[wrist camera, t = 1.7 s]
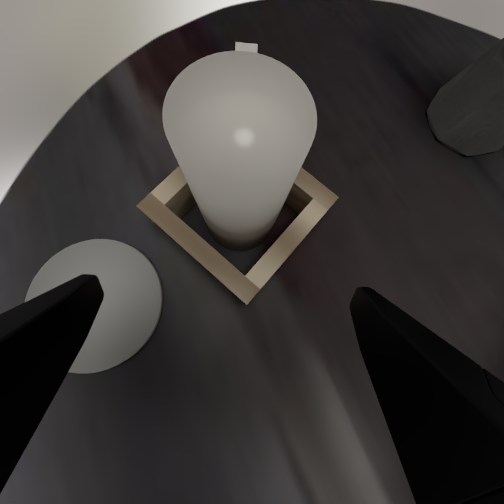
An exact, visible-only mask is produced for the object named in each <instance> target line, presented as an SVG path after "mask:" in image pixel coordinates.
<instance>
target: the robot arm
mask: <svg viewBox="0 0 504 504" xmlns="http://www.w3.org/2000/svg"><path fill="white" fill-rule="evenodd" d="M103 299H104V291H103V289H102V286H101V284H100V281H99V279H98V277H97V276H96V275H93V274H82V275H79V276H77V277H75V278H73V279H71V280H69V281H67V282H65V283H63V284H61V285H59V286H57V287H55V288H53V289H51V290H49V291H47V292H45V293H43V294H41V295H39V296H37V297H35V298H33V299H31V300H29V301H27V302H25V303H23V304H21V305H19V306H16V307H14V308H12V309H10V310H8V311H6V312H4V313H2V314H0V493H1V492H2V490H3V488H4V486H5V484H6V483H7V481H8V479H9V477H10V475H11V474H12V472H13V470H14V468H15V466H16V465H17V463H18V461H19V459H20V457H21V456H22V454H23V452H24V450H25V448H26V447H27V445H28V443H29V441H30V439H31V438H32V436H33V434H34V432H35V431H36V429H37V427H38V425H39V423H40V422H41V420H42V418H43V416H44V414H45V413H46V411H47V409H48V407H49V405H50V404H51V402H52V400H53V398H54V396H55V395H56V393H57V391H58V389H59V387H60V386H61V384H62V382H63V380H64V378H65V377H66V375H67V373H68V371H69V370H70V368H71V366H72V364H73V362H74V361H75V359H76V357H77V355H78V353H79V352H80V350H81V348H82V346H83V344H84V342H85V340H86V338H87V336H88V334H89V332H90V329H91V327H92V325H93V322H94V320H95V318H96V315H97V313H98V311H99V308H100V306H101V304H102V301H103ZM350 312H351V316H352V320H353V324H354V328H355V332H356V336H357V340H358V344H359V347H360V351H361V354H362V357H363V359H364V362H365V365H366V368H367V370H368V373H369V376H370V379H371V381H372V384H373V387H374V390H375V392H376V395H377V398H378V401H379V403H380V406H381V409H382V412H383V414H384V417H385V420H386V423H387V425H388V428H389V431H390V434H391V436H392V439H393V442H394V445H395V447H396V450H397V453H398V456H399V458H400V461H401V464H402V467H403V469H404V472H405V475H406V478H407V480H408V483H409V486H410V489H411V491H412V494H413V497H414V500H415V502H416V504H504V382H502V381H501V380H499V379H498V378H497V377H495V376H494V375H493V374H491V373H490V372H488V371H487V370H486V369H482V367H481V366H480V365H478V364H477V363H476V362H474V361H473V360H471V359H470V358H469V357H467V356H466V355H464V354H463V353H462V352H460V351H459V350H457V349H456V348H455V347H453V346H452V345H450V344H449V343H448V342H446V341H445V340H443V339H442V338H440V337H439V336H438V335H436V334H435V333H433V332H432V331H431V330H429V329H428V328H426V327H425V326H424V325H422V324H421V323H419V322H418V321H417V320H415V319H414V318H412V317H411V316H410V315H408V314H407V313H405V312H404V311H403V310H401V309H400V308H398V307H397V306H396V305H394V304H393V303H391V302H390V301H389V300H387V299H386V298H384V297H383V296H382V295H380V294H379V293H377V292H376V291H375V290H373V289H372V288H370V287H358V288H357V289H356V291H355V293H354V295H353V297H352V300H351V302H350Z"/></svg>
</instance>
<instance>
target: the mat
mask: <svg viewBox="0 0 504 504" xmlns="http://www.w3.org/2000/svg"><path fill="white" fill-rule="evenodd" d="M82 274H93V275H96V276H97V277H98V279H99V281H100V284H101V286H102V289H103V291H104V299H103V301H102V304H101V306H100V308H99V311H98V313H97V315H96V318H95V320H94V322H93V325H92V327H91V329H90V332H89V334H88V336H87V338H86V340H85V342H84V344H83V346H82V348H81V350H80V352H79V353H78V355H77V357H76V359H75V361H74V362H73V364H72V366H71V368H70V370H69V371H68V372H71V373H79V374H84V373H95V372H100V371H104V370H107V369H110V368H112V367H114V366H117V365H118V364H120V363H122V362H124V361H125V360H127V359H129V358H130V357H132V356H133V355H134V354H136V353H137V352H138V351H139V350H140V349H141V348H142V347H143V346H144V345H145V344H146V343H147V342H148V340H149V339H150V338H151V336H152V334H153V333H154V331H155V329H156V327H157V325H158V323H159V320H160V317H161V314H162V309H163V299H164V297H163V287H162V282H161V279H160V276H159V274H158V272H157V270H156V268H155V267H154V265H153V264H152V262H151V261H150V260H149V259H148V258H147V257H146V256H145V255H144V254H143V253H141V252H140V251H138V250H137V249H135V248H133V247H131V246H129V245H127V244H124V243H122V242H118V241H115V240H108V239H94V240H87V241H83V242H79V243H76V244H73V245H71V246H69V247H67V248H65V249H63V250H62V251H60V252H58V253H57V254H56V255H54V256H53V257H52V258H51V259H49V260H48V261H47V262H46V263H45V264H44V265H43V266H42V268H41V269H40V270H39V272H38V273H37V274H36V276H35V278H34V279H33V281H32V283H31V285H30V287H29V289H28V292H27V295H26V299H25V302H27V301H29V300H31V299H33V298H35V297H37V296H39V295H41V294H43V293H45V292H47V291H49V290H51V289H53V288H55V287H57V286H59V285H61V284H63V283H65V282H67V281H69V280H71V279H73V278H75V277H77V276H79V275H82Z"/></svg>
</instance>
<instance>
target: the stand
mask: <svg viewBox="0 0 504 504" xmlns="http://www.w3.org/2000/svg"><path fill="white" fill-rule="evenodd" d="M338 198H339V197H338V196H336V195H335V194H334V193H333V192H331V191H330V190H329V189H328V188H326V187H325V186H324V185H323V184H321V183H320V182H319V181H318V180H316V179H315V178H314V177H313V176H312V175H310V174H309V173H308V172H307V171H305V170H304V169H303V168H302V167H301V168H300V171H299V173H298V175H297V177H296V179H295V181H294V183H293V185H292V187H291V190H290V192H289V194H288V196H287V198H286V200H285V203H286V204H287V205H288V206H290V207H291V208H292V209H293V210H294V211H296V212H297V213H298V214H299V215H298V217H297V218H296V219H295V220H294V221H293V222H292V223H291V224H290V226H289V227H288V228H287V229H286V230H285V231H284V232H283V234H282V235H281V236H280V237H279V238H278V239H277V240H276V242H275V243H274V244H273V245H272V246H271V247H270V248H269V249H268V251H267V252H266V253H265V254H264V255H263V256H262V257H261V259H260V260H259V261H258V262H257V263H256V264H255V265H254V266H253V268H252V269H251V270H250V271H249V272H248V273H247V274H246V276H244V275H243V274H242V273H241V272H240V271H239V270H238V269H236V268H235V267H234V266H233V265H232V264H231V263H230V262H229V261H227V260H226V259H225V258H224V257H223V256H222V255H221V254H219V253H218V252H217V251H216V250H215V249H214V248H213V247H212V246H210V245H209V244H208V243H207V242H206V241H205V240H204V239H202V238H201V237H200V236H199V235H198V234H197V233H196V232H195V231H193V230H192V229H191V228H190V227H189V226H188V225H187V224H185V223H184V222H183V221H182V220H181V218H182V217H183V216H184V215H185V214H186V213H187V212H188V211H189V210H190V209H191V208H192V207H193V206H194V205H195V204H196V201H195V198H194V196H193V194H192V192H191V190H190V188H189V185H188V183H187V181H186V179H185V177H184V174H183V172H182V170H181V168H180V166H179V167H178V168H176V169H175V170H174V171H173V172H172V173H171V174H170V175H169V176H168V177H167V178H166V179H165V180H164V181H163V182H161V183H160V184H159V185H158V186H157V187H156V188H155V189H154V190H153V191H152V192H151V193H150V194H149V195H148V196H146V197H145V198H144V199H143V200H142V201H141V202H140V203H139V204H138V205H137V207H138V208H139V209H140V210H141V211H142V212H144V213H145V214H146V215H147V216H148V217H149V218H150V219H151V220H153V221H154V222H155V223H156V224H157V225H158V226H159V227H160V228H161V229H163V230H164V231H165V232H166V233H167V234H168V235H169V236H170V237H171V238H173V239H174V240H175V241H176V242H177V243H178V244H179V245H180V246H182V247H183V248H184V249H185V250H186V251H187V252H188V253H189V254H190V255H192V256H193V257H194V258H195V259H196V260H197V261H198V262H199V263H200V264H202V265H203V266H204V267H205V268H206V269H207V270H208V271H209V272H210V273H212V274H213V275H214V276H215V277H216V278H217V279H218V280H219V281H221V282H222V283H223V284H224V285H225V286H226V287H227V288H228V289H229V290H231V291H232V292H233V293H234V294H235V295H236V296H237V297H238V298H239V299H241V300H242V301H243V302H244V303H245V304H246V305H247V304H248V303H249V302H250V301H251V300H252V298H253V297H254V296H255V295H256V294H257V293H258V291H259V290H260V289H261V288H262V287H263V286H264V284H265V283H266V282H267V281H268V280H269V279H270V277H271V276H272V275H273V274H274V273H275V272H276V270H277V269H278V268H279V267H280V266H281V264H282V263H283V262H284V261H285V260H286V259H287V257H288V256H289V255H290V254H291V253H292V252H293V250H294V249H295V248H296V247H297V246H298V245H299V243H300V242H301V241H302V240H303V239H304V238H305V236H306V235H307V234H308V233H309V232H310V231H311V229H312V228H313V227H314V226H315V225H316V223H317V222H318V221H319V220H320V219H321V218H322V216H323V215H324V214H325V213H326V212H327V211H328V209H329V208H330V207H331V206H332V205H333V204H334V202H335V201H336V200H337V199H338Z"/></svg>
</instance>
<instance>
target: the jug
mask: <svg viewBox="0 0 504 504" xmlns="http://www.w3.org/2000/svg"><path fill="white" fill-rule="evenodd" d="M257 46H258V44H251V43H240V42H236V45H235V51H226V52H220V53H215V54H212V55H209V56H206V57H204V58H201V59H199V60H197V61H196V62H194V63H192V64H191V65H189V66H188V67H187V68H185V69H184V70H183V71H182V72H181V73H180V74H179V75H178V76H177V77H176V79H175V80H174V81H173V83H172V84H171V86H170V88H169V90H168V92H167V94H166V97H165V100H164V105H163V115H162V117H163V126H164V130H165V134H166V137H167V139H168V141H169V144H170V146H171V148H172V150H173V152H174V155H175V157H176V159H177V161H178V163H179V166H180V168H181V170H182V172H183V174H184V177H185V179H186V181H187V183H188V185H189V188H190V190H191V192H192V194H193V196H194V198H195V201H196V203H197V205H198V207H199V209H200V212H201V214H202V216H203V218H204V220H205V223H206V225H207V227H208V229H209V231H210V233H211V235H212V237H213V238H214V239H215V240H216V241H217V242H218V243H219V244H220V245H222V246H223V247H225V248H228V249H231V250H235V251H245V250H250V249H253V248H255V247H257V246H259V245H260V244H261V243H263V242H264V241H265V240H266V238H267V237H268V236H269V234H270V232H271V230H272V228H273V226H274V223H275V221H276V219H277V217H278V215H279V213H280V211H281V209H282V207H283V204H284V202H285V200H286V198H287V196H288V194H289V192H290V190H291V187H292V185H293V183H294V181H295V179H296V177H297V175H298V173H299V171H300V168H301V166H302V164H303V162H304V160H305V158H306V156H307V154H308V151H309V149H310V147H311V145H312V143H313V140H314V137H315V133H316V128H317V113H316V107H315V103H314V100H313V98H312V95H311V93H310V91H309V90H308V88H307V86H306V85H305V84H304V82H303V81H302V79H301V78H300V77H299V76H298V75H297V74H296V73H295V72H293V71H292V70H291V69H290V68H289V67H287V66H286V65H284V64H283V63H281V62H279V61H277V60H275V59H273V58H271V57H268V56H265V55H262V54H258V53H257Z"/></svg>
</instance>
